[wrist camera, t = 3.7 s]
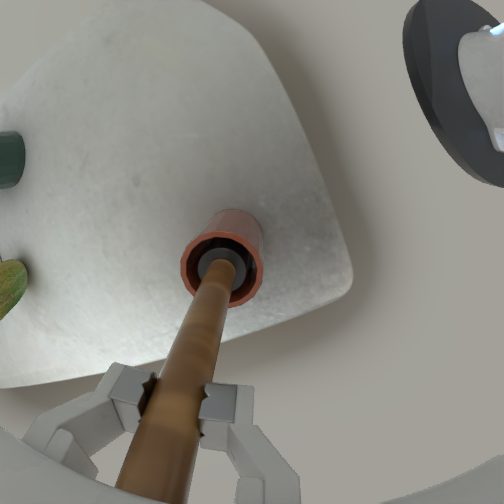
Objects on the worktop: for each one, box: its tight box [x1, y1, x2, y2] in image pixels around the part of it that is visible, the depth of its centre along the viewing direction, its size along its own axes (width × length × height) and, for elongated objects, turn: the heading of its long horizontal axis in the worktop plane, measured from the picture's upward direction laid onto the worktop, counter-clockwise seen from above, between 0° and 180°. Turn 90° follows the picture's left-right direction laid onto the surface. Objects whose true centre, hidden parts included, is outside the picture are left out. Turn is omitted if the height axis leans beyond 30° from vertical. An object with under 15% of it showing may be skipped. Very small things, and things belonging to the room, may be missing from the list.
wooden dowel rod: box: [114, 237, 249, 504], centre depth 14 cm, size 3×3×22 cm
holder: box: [181, 209, 263, 308], centre depth 22 cm, size 5×5×8 cm
